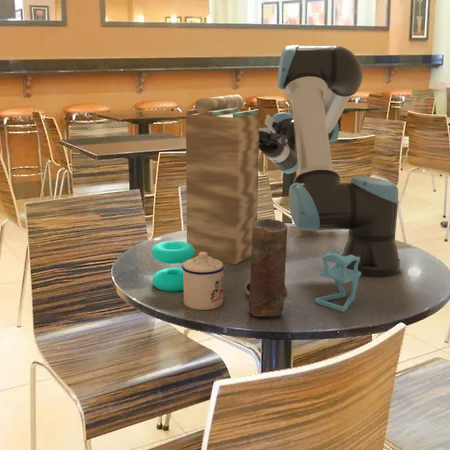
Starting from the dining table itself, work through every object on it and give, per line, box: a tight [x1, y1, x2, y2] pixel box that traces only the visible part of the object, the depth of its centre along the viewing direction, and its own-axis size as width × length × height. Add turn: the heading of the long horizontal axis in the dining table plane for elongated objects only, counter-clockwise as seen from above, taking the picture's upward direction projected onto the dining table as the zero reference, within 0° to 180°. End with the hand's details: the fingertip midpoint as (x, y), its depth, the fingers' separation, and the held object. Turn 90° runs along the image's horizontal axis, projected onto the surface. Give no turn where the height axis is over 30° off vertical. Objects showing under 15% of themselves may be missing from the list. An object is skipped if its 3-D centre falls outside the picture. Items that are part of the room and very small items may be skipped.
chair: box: [314, 249, 362, 312], centre depth 144 cm, size 8×8×12 cm
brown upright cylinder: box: [248, 218, 288, 318], centre depth 136 cm, size 8×7×20 cm
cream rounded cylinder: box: [195, 94, 244, 114], centre depth 175 cm, size 18×4×4 cm, turn 149°
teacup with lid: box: [181, 252, 225, 311], centre depth 145 cm, size 12×9×12 cm
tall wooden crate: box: [185, 108, 260, 265], centre depth 174 cm, size 12×15×39 cm
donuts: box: [151, 240, 195, 292], centre depth 154 cm, size 10×10×10 cm
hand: (245, 117), depth 188 cm, fingers open, 13 cm apart
